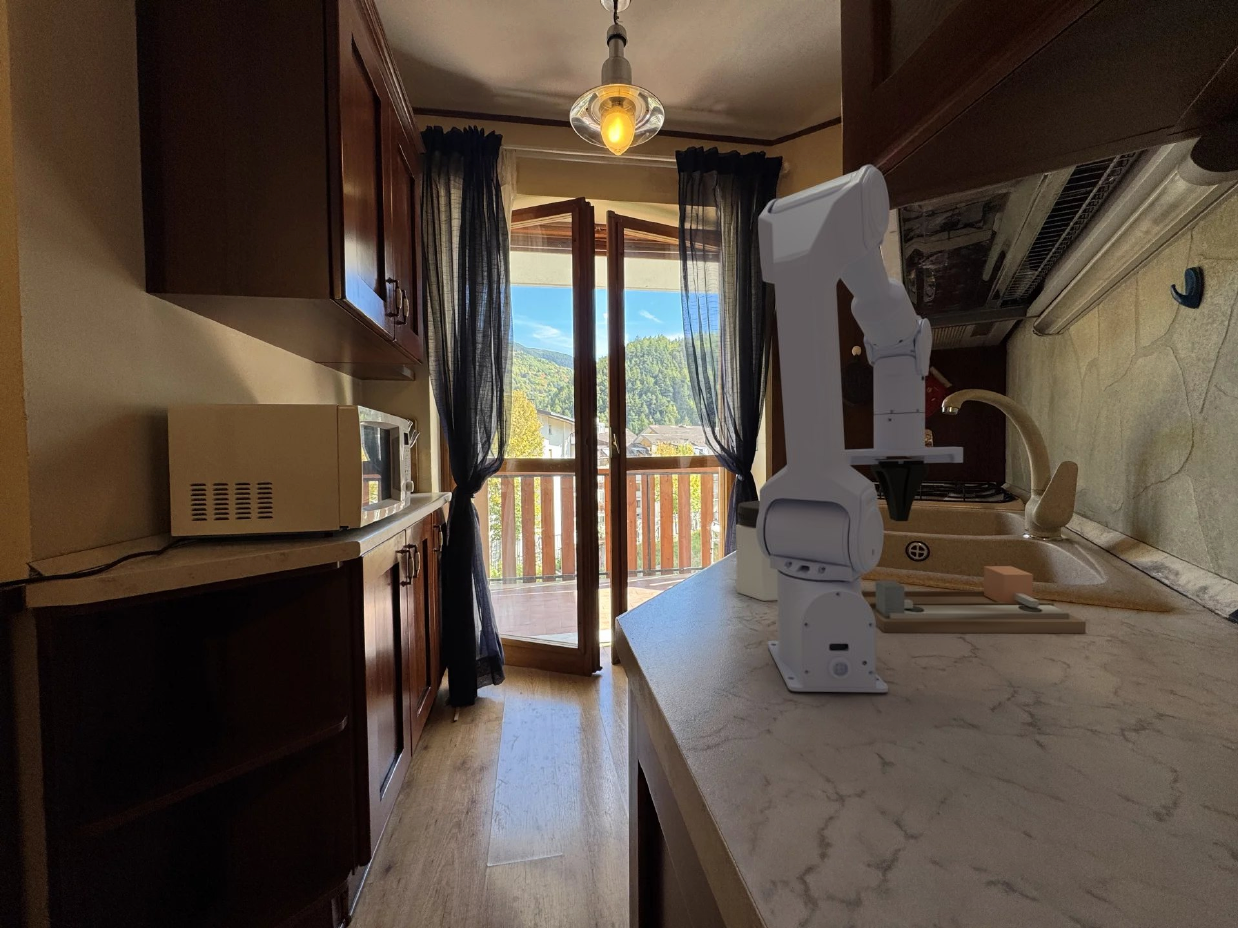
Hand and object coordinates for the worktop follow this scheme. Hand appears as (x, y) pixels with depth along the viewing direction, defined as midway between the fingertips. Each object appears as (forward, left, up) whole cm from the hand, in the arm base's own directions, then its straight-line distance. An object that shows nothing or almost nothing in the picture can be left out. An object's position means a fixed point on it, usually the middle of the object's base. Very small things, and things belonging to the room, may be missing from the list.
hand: (898, 520), depth 65 cm
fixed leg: (-10, +5, -9) cm, 14 cm away
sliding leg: (-7, -9, -8) cm, 15 cm away
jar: (+2, +16, -10) cm, 19 cm away
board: (-8, -3, -10) cm, 13 cm away
